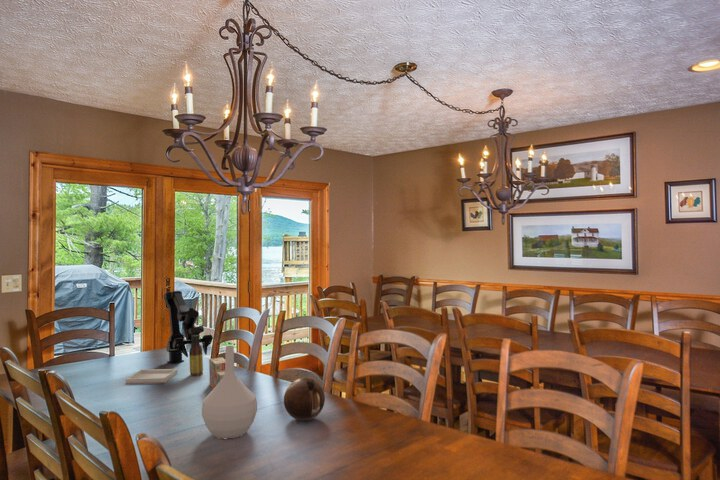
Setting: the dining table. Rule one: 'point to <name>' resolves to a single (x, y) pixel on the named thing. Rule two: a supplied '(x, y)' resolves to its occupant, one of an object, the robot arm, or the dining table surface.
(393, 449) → the dining table surface
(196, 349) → the sauce bottle
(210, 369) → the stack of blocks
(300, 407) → the wooden sphere
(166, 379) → the tray
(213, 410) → the vase
